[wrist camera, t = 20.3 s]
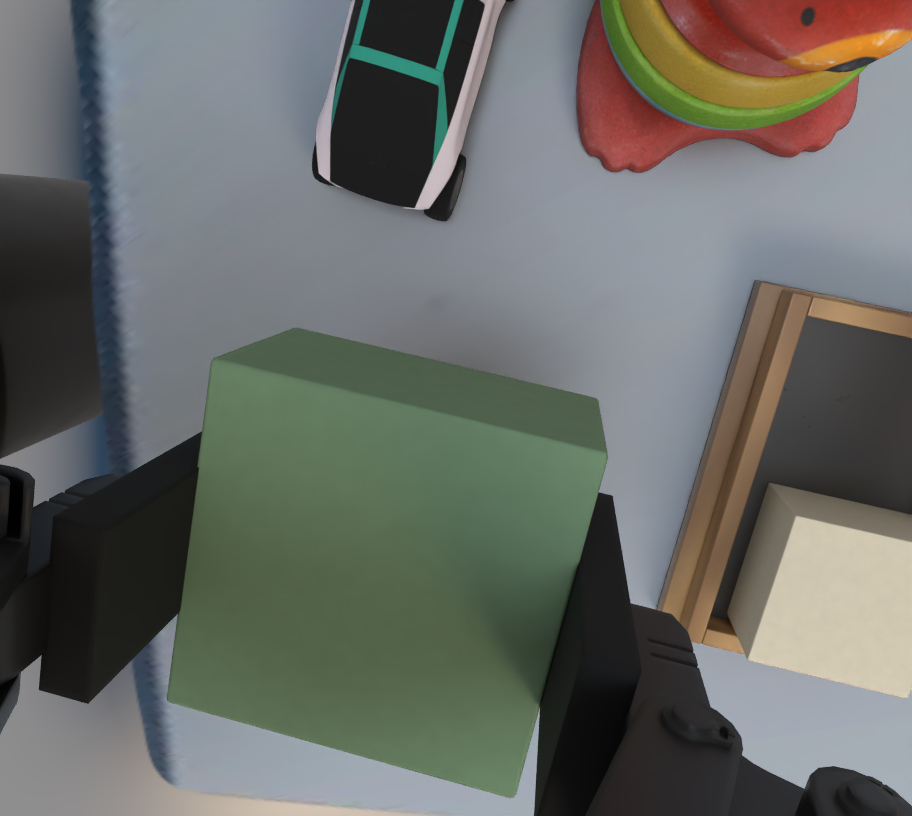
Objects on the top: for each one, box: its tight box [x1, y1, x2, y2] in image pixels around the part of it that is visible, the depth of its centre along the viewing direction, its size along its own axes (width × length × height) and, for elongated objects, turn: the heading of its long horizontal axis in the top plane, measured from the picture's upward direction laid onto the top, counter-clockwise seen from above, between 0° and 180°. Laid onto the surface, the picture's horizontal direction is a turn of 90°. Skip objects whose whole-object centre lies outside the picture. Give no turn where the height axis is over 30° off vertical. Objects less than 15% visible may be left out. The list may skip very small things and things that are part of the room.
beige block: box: [727, 483, 912, 699], centre depth 33 cm, size 6×6×4 cm
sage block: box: [167, 328, 608, 798], centre depth 15 cm, size 6×6×4 cm
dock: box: [657, 280, 912, 654], centre depth 34 cm, size 11×16×2 cm
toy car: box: [312, 0, 514, 221], centre depth 30 cm, size 6×12×5 cm, turn 163°
